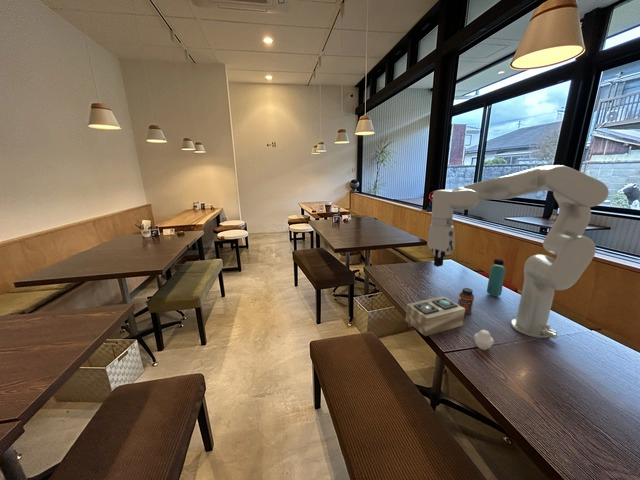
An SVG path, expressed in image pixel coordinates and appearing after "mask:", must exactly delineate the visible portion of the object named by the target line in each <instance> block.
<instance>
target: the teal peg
mask: <svg viewBox="0 0 640 480" xmlns="http://www.w3.org/2000/svg"><path fill="white" fill-rule="evenodd" d="M439 304H441V305H443V306H444V307H446V306H450V302H448V301H446V300H440V301H439Z"/></svg>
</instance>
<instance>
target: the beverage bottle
mask: <svg viewBox="0 0 640 480" xmlns="http://www.w3.org/2000/svg"><path fill="white" fill-rule="evenodd" d="M504 262H505V261H504V260H503V259H501V258H495V259H494V261H493V265H491V266H490V271H489V274H488V282H487V283H488V284H487V286H486V287H487V288H486V292H487V294H488V295H490V296H494V297H500V296H501V295H502V292H503V285H504V278H505V274H506V268H505V267H504V266H503V265H504Z"/></svg>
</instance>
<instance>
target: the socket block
mask: <svg viewBox="0 0 640 480" xmlns="http://www.w3.org/2000/svg"><path fill="white" fill-rule="evenodd" d="M440 300H446V301H448V302H450V306H446V307H444V306H443V305H441V304H439V301H440ZM423 304H426V305H430V306H431V307H432V310H430V311H424V310H423V309H421V308H420V307H421V305H423ZM405 310H406V311H405V322H407V323H408V324H409V325H410V326H411V327H413V328H414V329H415V330H417V331H418V332H419V333H420V334H421V335H423V336H424V337H427V336H431V335H435V334H438V333H443V332H445V331H448V330H451V329H455V328H459V327H462V326H464V321H465V320H464V319H465V315H466V314H465V308H463V307H461V306H460V305H458V303H456V302H454V301H452V300H451V299H449V298H447V297H445V296H443V295H441V296H438V297H432V298H428V299H425V300H424V299H423V300H419V301H416V302H411V303H407V304H406V309H405ZM430 334H431V335H430Z"/></svg>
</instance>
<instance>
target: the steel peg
mask: <svg viewBox="0 0 640 480" xmlns="http://www.w3.org/2000/svg"><path fill="white" fill-rule="evenodd" d="M420 308H421V309H423V310H424V311H430V310H432V307H431V306H430V305H426V304H423V305H421V307H420Z"/></svg>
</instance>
